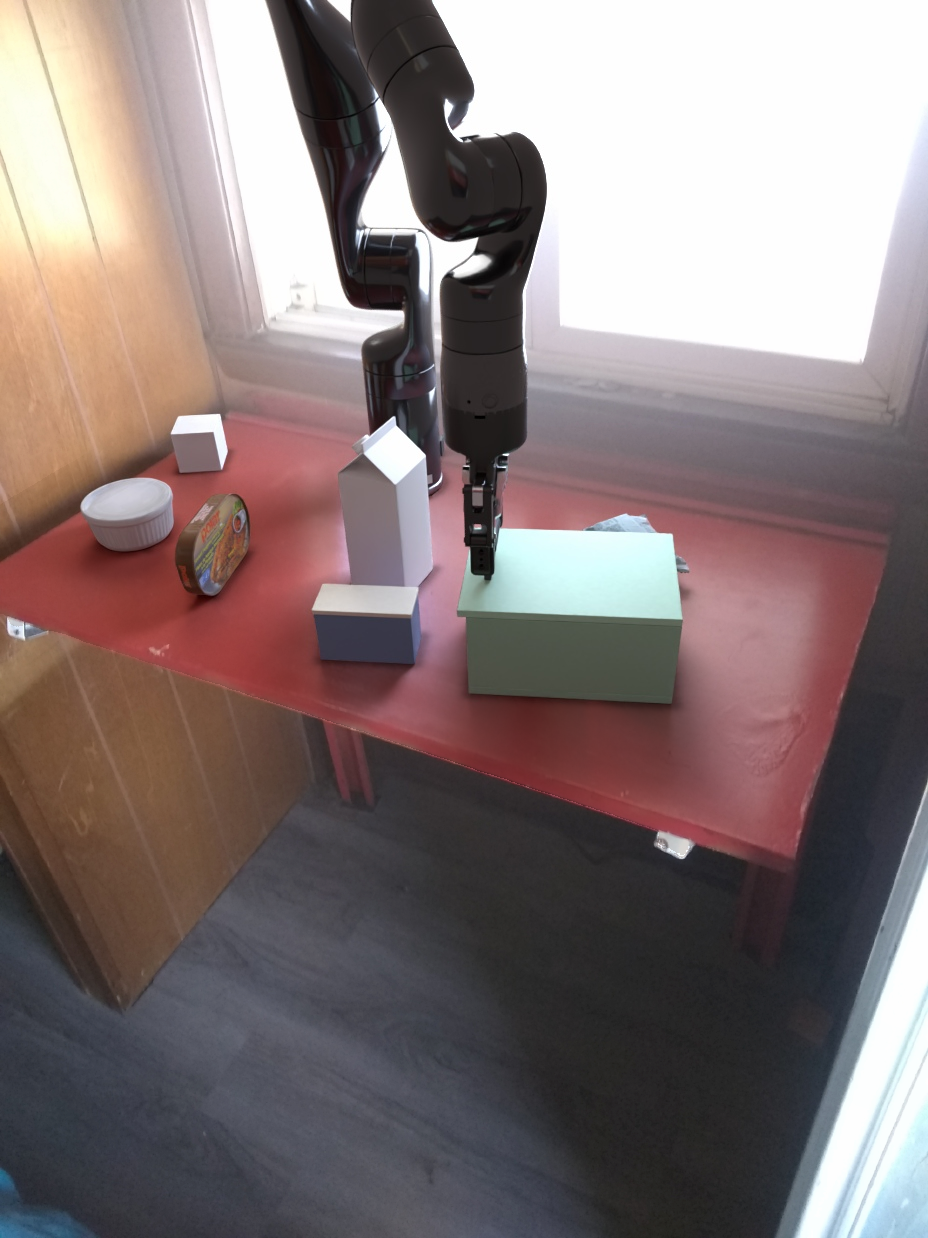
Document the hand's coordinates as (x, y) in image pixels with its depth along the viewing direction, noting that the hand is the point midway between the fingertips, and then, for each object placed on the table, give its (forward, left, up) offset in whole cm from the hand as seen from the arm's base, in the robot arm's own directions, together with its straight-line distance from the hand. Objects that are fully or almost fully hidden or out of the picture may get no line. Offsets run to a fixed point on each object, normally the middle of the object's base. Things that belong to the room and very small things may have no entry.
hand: (487, 549), depth 90 cm
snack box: (+1, -12, -12) cm, 18 cm away
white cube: (-40, -45, -13) cm, 62 cm away
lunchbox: (0, +9, -12) cm, 15 cm away
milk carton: (-12, -12, -13) cm, 22 cm away
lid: (0, +8, -3) cm, 9 cm away
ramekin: (-20, -47, -13) cm, 53 cm away
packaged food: (-17, +16, -13) cm, 26 cm away
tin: (-12, -33, -13) cm, 38 cm away
